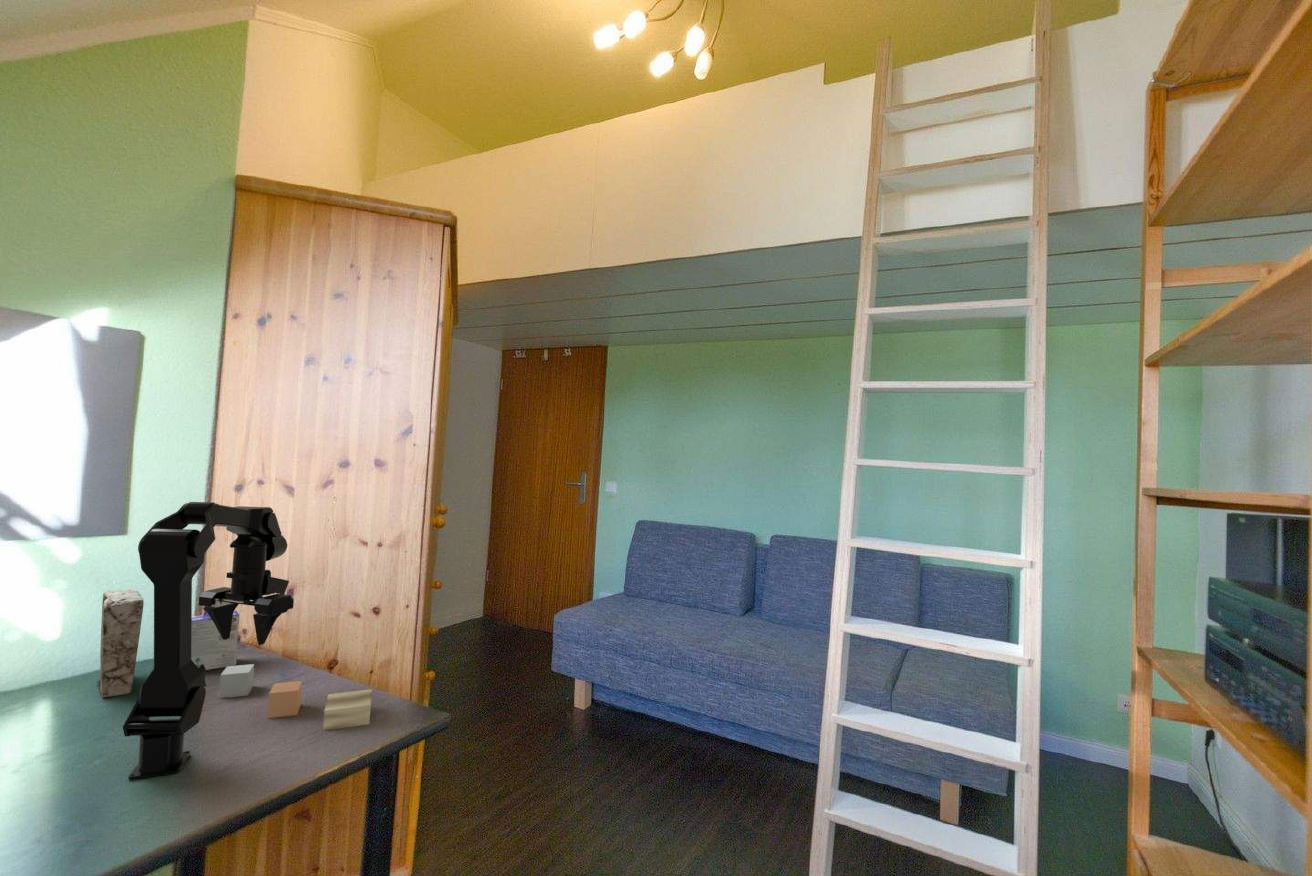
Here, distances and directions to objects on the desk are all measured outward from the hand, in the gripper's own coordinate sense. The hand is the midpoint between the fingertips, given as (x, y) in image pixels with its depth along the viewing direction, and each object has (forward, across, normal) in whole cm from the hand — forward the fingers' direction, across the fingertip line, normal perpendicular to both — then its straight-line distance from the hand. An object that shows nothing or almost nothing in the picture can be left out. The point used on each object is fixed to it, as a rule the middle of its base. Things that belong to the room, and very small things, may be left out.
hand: (243, 641), depth 121 cm
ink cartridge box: (+13, +24, -13) cm, 30 cm away
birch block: (+13, -25, -2) cm, 28 cm away
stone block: (+13, +31, +2) cm, 33 cm away
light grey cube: (+13, +6, -4) cm, 15 cm away
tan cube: (+13, -11, 0) cm, 17 cm away
